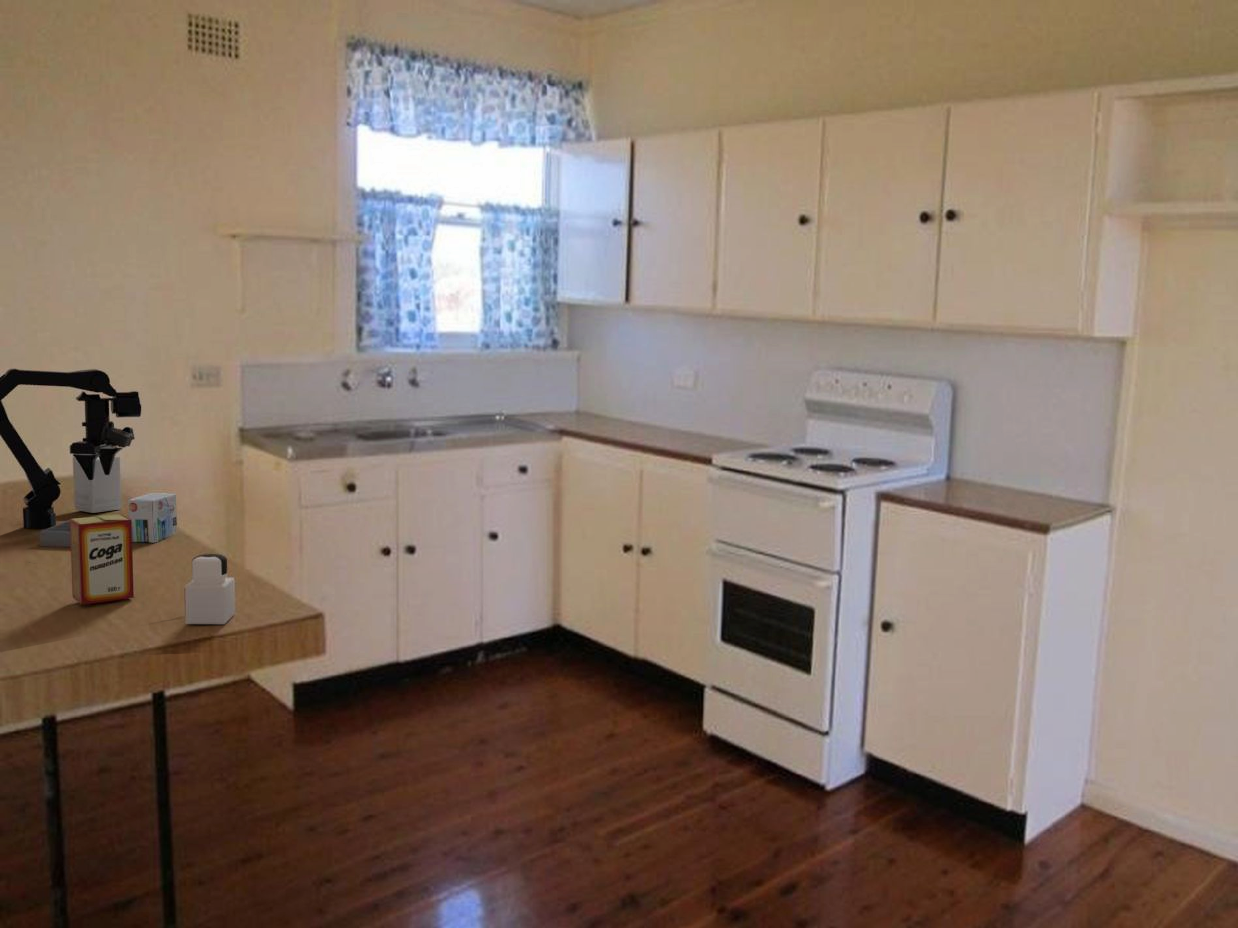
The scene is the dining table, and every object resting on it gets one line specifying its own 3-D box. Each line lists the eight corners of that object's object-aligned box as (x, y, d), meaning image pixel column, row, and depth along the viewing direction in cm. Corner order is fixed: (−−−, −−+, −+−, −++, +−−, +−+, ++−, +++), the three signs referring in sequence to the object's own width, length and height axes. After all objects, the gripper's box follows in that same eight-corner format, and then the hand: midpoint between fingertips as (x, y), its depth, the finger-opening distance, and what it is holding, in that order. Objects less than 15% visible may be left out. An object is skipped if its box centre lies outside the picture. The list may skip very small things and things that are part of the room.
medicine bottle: (196, 613, 203) (195, 551, 201) (235, 614, 203) (234, 551, 202) (184, 624, 196) (183, 559, 194) (225, 624, 196) (224, 560, 195)
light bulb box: (178, 534, 271) (155, 543, 261) (153, 533, 272) (129, 543, 261) (176, 492, 270) (152, 500, 259) (150, 491, 270) (126, 499, 260)
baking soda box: (81, 604, 206) (78, 522, 204) (72, 597, 211) (69, 517, 209) (133, 597, 212) (131, 517, 210) (123, 590, 217) (121, 512, 215)
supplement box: (122, 509, 303) (121, 456, 301) (92, 513, 295) (90, 459, 293) (103, 505, 307) (102, 453, 305) (73, 509, 300) (71, 456, 298)
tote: (40, 546, 254) (39, 531, 254) (71, 533, 269) (71, 519, 269) (105, 547, 254) (104, 533, 254) (133, 534, 270) (132, 521, 269)
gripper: (112, 422, 271) (114, 483, 273) (143, 415, 289) (145, 473, 291) (67, 421, 271) (69, 482, 273) (101, 414, 289) (103, 472, 291)
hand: (99, 477), depth 282 cm, fingers open, 9 cm apart
